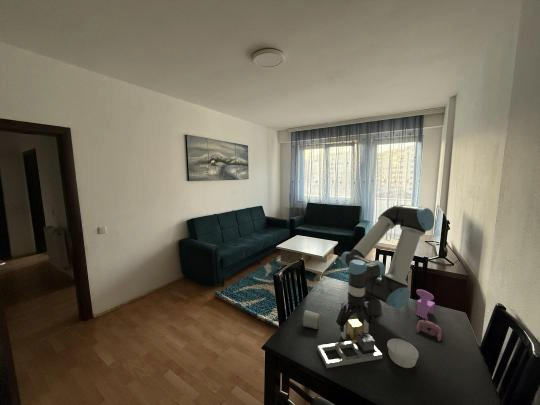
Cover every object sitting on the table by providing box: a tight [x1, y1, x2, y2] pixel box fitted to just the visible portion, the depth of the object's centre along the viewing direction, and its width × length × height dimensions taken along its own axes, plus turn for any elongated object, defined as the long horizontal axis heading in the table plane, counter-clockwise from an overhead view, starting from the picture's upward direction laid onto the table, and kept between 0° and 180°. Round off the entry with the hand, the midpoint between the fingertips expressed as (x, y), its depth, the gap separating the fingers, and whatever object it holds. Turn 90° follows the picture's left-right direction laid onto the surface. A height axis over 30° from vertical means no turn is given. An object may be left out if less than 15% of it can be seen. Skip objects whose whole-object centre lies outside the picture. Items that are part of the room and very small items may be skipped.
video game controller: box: [415, 319, 443, 342], centre depth 107 cm, size 10×5×7 cm, turn 47°
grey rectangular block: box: [357, 331, 376, 354], centre depth 96 cm, size 5×5×7 cm
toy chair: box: [414, 289, 436, 321], centre depth 121 cm, size 8×9×15 cm
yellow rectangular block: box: [346, 318, 364, 341], centre depth 105 cm, size 5×5×7 cm
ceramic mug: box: [302, 309, 321, 330], centre depth 114 cm, size 11×8×8 cm
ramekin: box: [386, 338, 420, 369], centre depth 92 cm, size 11×11×5 cm
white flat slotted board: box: [317, 339, 383, 369], centre depth 95 cm, size 25×10×2 cm, turn 100°
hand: (354, 335), depth 106 cm, fingers open, 11 cm apart
